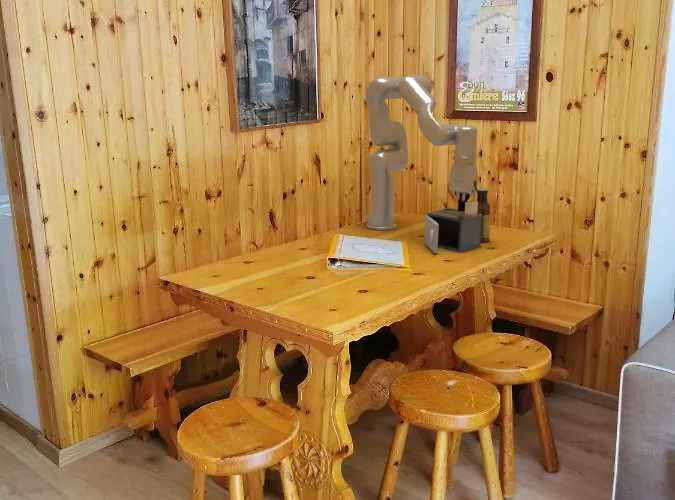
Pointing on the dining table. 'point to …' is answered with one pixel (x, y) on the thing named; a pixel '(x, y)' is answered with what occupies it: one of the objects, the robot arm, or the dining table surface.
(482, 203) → the sauce bottle
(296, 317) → the dining table surface
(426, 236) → the door
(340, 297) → the dining table surface
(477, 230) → the dark grey box
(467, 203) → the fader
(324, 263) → the dining table surface
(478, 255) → the dining table surface
